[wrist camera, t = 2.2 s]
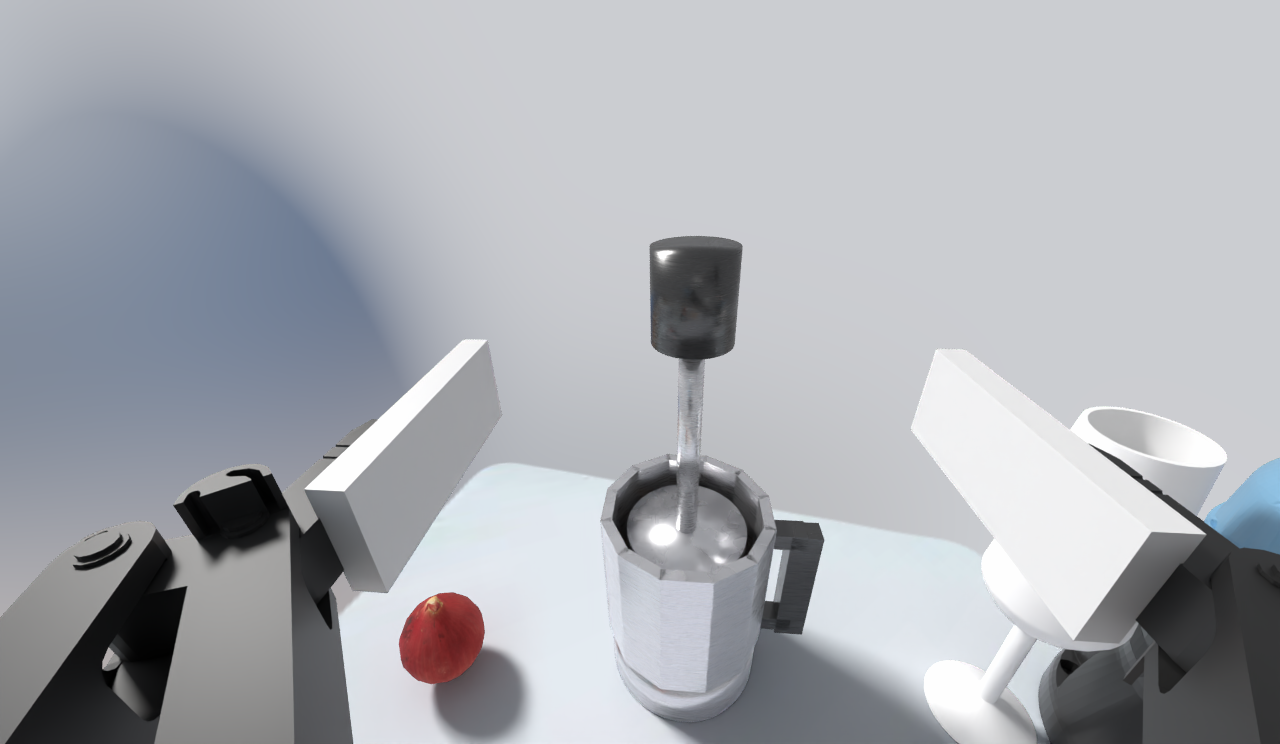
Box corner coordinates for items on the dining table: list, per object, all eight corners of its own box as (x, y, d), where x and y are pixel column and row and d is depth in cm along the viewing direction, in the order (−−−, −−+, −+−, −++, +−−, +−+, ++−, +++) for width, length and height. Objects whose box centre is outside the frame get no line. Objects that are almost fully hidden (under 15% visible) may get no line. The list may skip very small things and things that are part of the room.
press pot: (780, 590, 41) (805, 459, 34) (810, 733, 31) (853, 592, 24) (623, 580, 42) (615, 452, 35) (604, 715, 32) (588, 575, 25)
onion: (403, 711, 33) (369, 646, 29) (426, 634, 38) (400, 570, 34) (485, 699, 33) (462, 634, 30) (497, 625, 38) (479, 561, 35)
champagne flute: (1025, 795, 28) (1273, 510, 17) (909, 706, 32) (1042, 434, 21) (1046, 710, 32) (1257, 433, 21) (940, 641, 36) (1065, 382, 25)
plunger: (739, 494, 34) (767, 229, 25) (753, 590, 27) (799, 267, 18) (633, 490, 35) (623, 230, 25) (620, 581, 28) (598, 268, 18)
